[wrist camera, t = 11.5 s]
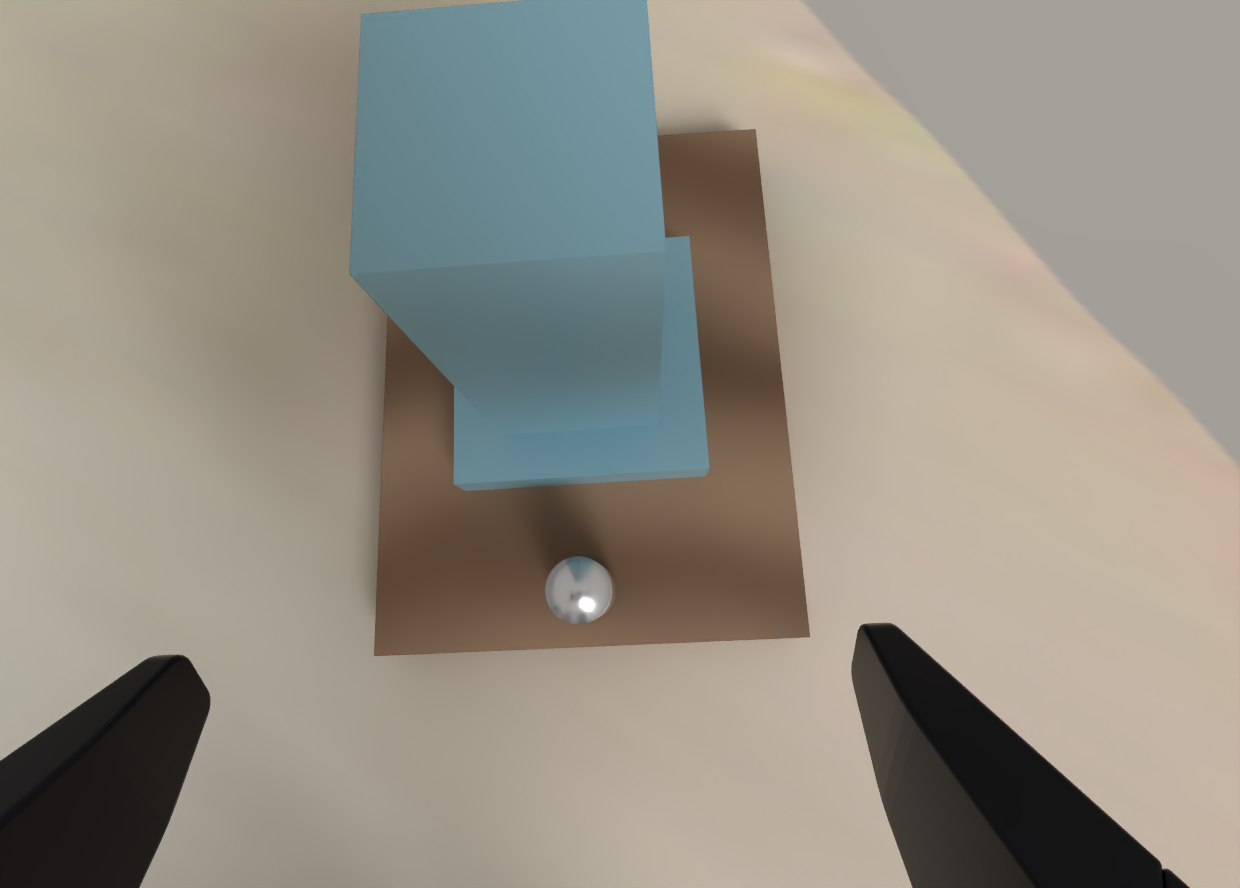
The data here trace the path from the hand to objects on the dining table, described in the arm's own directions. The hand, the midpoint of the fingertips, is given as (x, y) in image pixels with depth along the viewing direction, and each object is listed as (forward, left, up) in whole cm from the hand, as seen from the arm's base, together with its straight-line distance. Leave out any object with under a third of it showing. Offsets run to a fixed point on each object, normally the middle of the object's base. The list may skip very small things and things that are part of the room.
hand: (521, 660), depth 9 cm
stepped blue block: (+6, +5, -9) cm, 12 cm away
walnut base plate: (+6, +4, -11) cm, 13 cm away
